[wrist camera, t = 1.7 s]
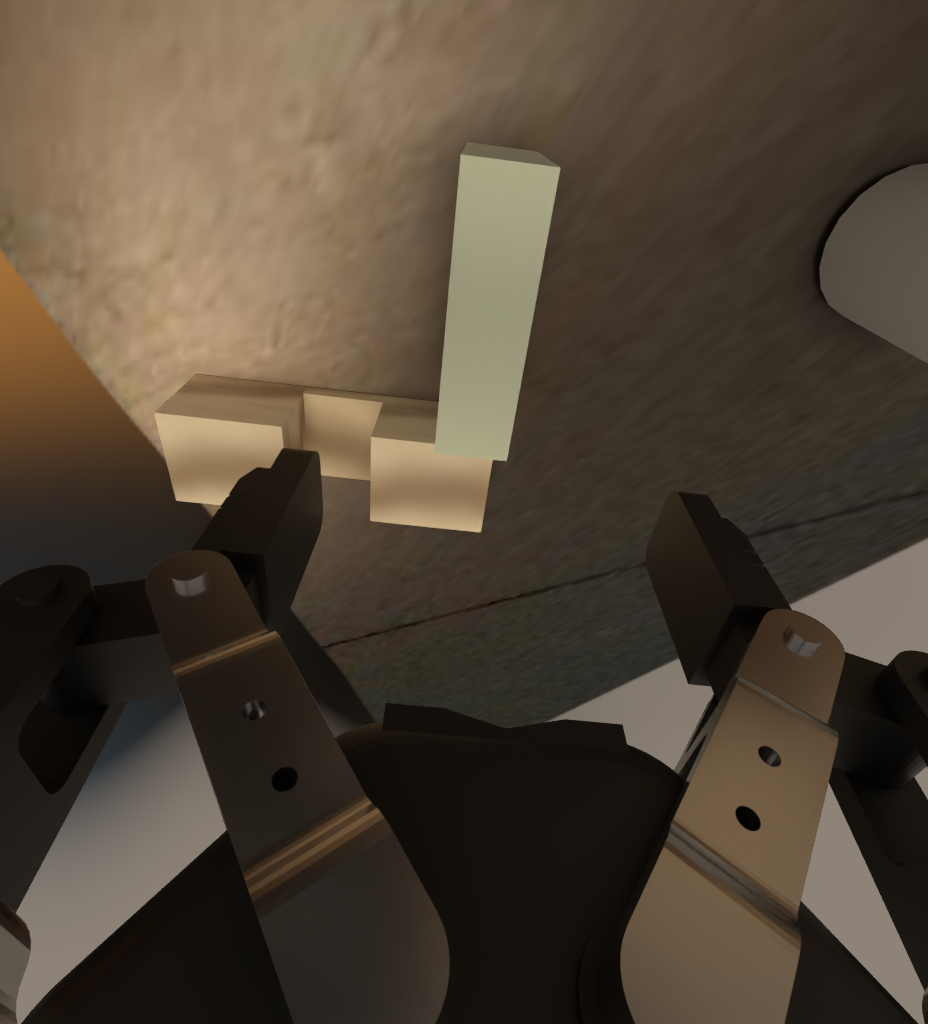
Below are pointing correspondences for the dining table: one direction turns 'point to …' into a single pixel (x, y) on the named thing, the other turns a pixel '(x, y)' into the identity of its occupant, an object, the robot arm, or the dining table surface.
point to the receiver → (320, 447)
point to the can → (883, 261)
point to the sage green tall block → (492, 295)
